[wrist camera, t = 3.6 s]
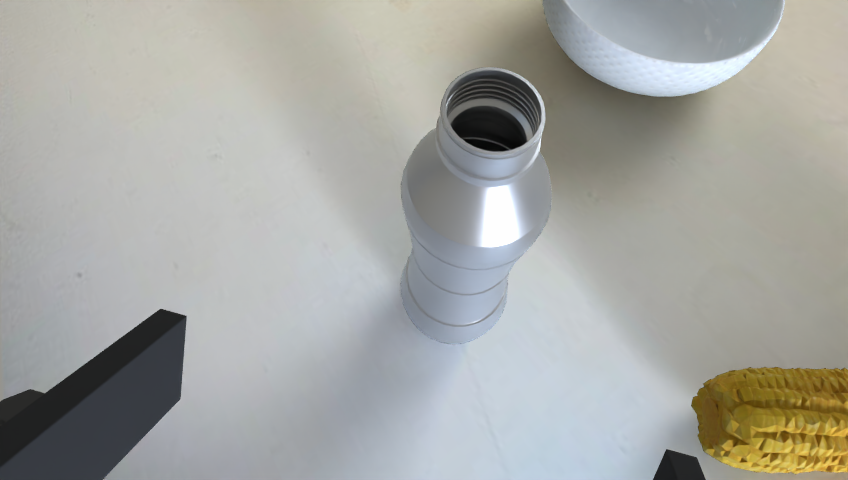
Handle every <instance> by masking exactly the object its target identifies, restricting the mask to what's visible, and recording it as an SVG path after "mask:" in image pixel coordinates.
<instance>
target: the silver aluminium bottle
mask: <svg viewBox="0 0 848 480" xmlns="http://www.w3.org/2000/svg"><path fill="white" fill-rule="evenodd" d="M545 114H546V113H545V107H544V103H543V100H542V98H541V96H540V94H539V93H538V91H537V90H536V88H535V87H534V86H533V85H532V84H531V83H530V82H529V81H527V80H526V79H525V78H523V77H522V76H520V75H518V74H516V73H514V72H512V71H509V70H506V69H502V68H495V67H483V68H477V69H473V70H470V71H467V72H465V73H463V74H462V75H460V76H458V77H457V78H456V79H455V80H454V81H452V82H451V84H450V85H449V86H448V88H447V89H446V91H445V94H444V96H443V99H442V102H441V108H440V116H439V118H438V121H437V126H436V128H435V129H433V130H432V131H430V132H429V133H428V134H427V135H426V136H425V137H424V138H423V139H421V141H420V142H419V144H418V145H417V146H416V148H415V149H414V151H413V152H412V154H411V156H410V157H409V159H408V161H407V164H406V166H405V168H404V171H403V176H402V181H401V198H402V205H403V210H404V214H405V218H406V221H407V224H408V228H409V231H410V234H411V240H412V250H411V254H410V256H409V257H408V260H407V262H406V265H405V267H404V270H403V273H402V278H401V297H402V301H403V305H404V307H405V309H406V312H407V314H408V316H409V317H410V319H411V320H412V322H413V323H414V324H415V326H416V327H417V328H418V329H419V330H420V331H421V332H422V333H423V334H425V335H426V336H428V337H430V338H431V339H434V340H436V341H439V342H442V343H448V344H461V343H466V342H470V341H472V340H474V339H476V338H478V337H480V336H482V335H483V334H485V333H486V332H487V331H489V330H490V329H491V328H492V327H493V326H494V325H495V324H496V323H497V321H498V320H499V318H500V316H501V315H502V313H503V311H504V307H505V304H506V299H507V289H508V280H507V279H508V275H509V272H510V270H511V268H512V267H513V265H514V263H515V262H516V261H517V260H518V259H519V258H520V257H521V256H522V255H523V254H524V253H525V252H526V251H527V250H528V249H529V248H530V247H531V246H532V244H533V243H534V242H535V241H536V239H537V238H538V236H539V235H540V234H541V232H542V230H543V228H544V227H545V225H546V223H547V221H548V218H549V214H550V211H551V203H552V190H551V181H550V175H549V170H548V167H547V165H546V162H545V159H544V158H543V156H542V155H541V153H540V151H539V149H540V146H541V136H542V133H543V130H544V127H545Z"/></svg>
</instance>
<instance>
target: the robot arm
mask: <svg viewBox="0 0 848 480" xmlns="http://www.w3.org/2000/svg"><path fill="white" fill-rule="evenodd" d="M186 317H187V316H185V315H181V314H178V313H174V312H170V311H167V310H163V309H160V310H158V311H157V312H156V313H154V314H153V315H151V316H150V317H149V318H147V319H146V320H145V321H143V322H142V323H141V324H139V325H138V326H136V327H135V328H134V329H132V330H131V331H130V332H128V333H127V334H126V335H124V336H123V337H121V338H120V339H119V340H117V341H116V342H115V343H113V344H112V345H111V346H109V347H108V348H106V349H105V350H104V351H102V352H101V353H100V354H98V355H97V356H96V357H94V358H93V359H91V360H90V361H89V362H87V363H86V364H85V365H83V366H82V367H80V368H79V369H78V370H76V371H75V372H74V373H72V374H71V375H70V376H68V377H67V378H65V379H64V380H63V381H61V382H60V383H59V384H57V385H56V386H55V387H53V388H52V389H50V390H49V391H48V392H46V393H41V392H38V391H34V390H31V389H29V390H27V391H24V392H22V393H19V394H17V395H14V396H11V397H9V398H6V399H4V400H2V401H1V402H0V480H102V479H103V478H104V477H105V476H106V475H107V474H108V473H109V472H110V471H111V470H112V469H113V468H114V467H115V466H116V465H117V464H118V463H119V462H120V461H121V460H122V459H123V458H124V457H125V456H126V455H127V454H128V453H129V452H130V450H131V449H132V448H133V447H134V446H135V445H136V444H137V443H138V442H139V441H140V440H141V439H142V438H143V437H144V436H145V435H146V434H147V433H148V432H149V431H150V430H151V429H152V428H153V427H154V426H155V425H156V424H157V423H158V422H159V420H160V419H161V418H162V417H163V416H164V415H165V414H166V413H167V412H168V411H169V410H170V409H171V408H172V407H173V406H174V405H175V404H176V403H177V402H178V401H179V400H180V397H181V384H182V370H183V357H184V344H185V330H186ZM653 480H706V479H705V477H704V474H703V472H702V470H701V467H700V465H699V462H698V460H697V458H696V457H693V456H689V455H685V454H682V453H678V452H675V451H671V450H667V449H666V451H665V454H664V456H663V458H662V461H661V463H660V465H659V467H658V470H657V472H656V474H655V477H654V479H653Z"/></svg>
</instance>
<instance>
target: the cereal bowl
mask: <svg viewBox="0 0 848 480" xmlns="http://www.w3.org/2000/svg"><path fill="white" fill-rule="evenodd" d="M784 3H785V0H543V7H544V14H545V16H546V21H547V24H548V25H549V29H550V31H551V32H552V34H553V37H554V38H555V39H556V41H557V43H558V44H559V46H560V47H561V48H562V50H563V51H564V52H565V53H566V54H567V55H568V57H569V58H570V59H571V60H572V61H574V63H575V64H576V65H578V66H579V67H580V68H582V69H583V70H584V71H585V72H587V73H588V74H590V75H592V76H593V77H594V78H597V79H598V80H600V81H602V82H604V83H606V84H609V85H611V86H614V87H615V88H617V89H622V90H624V91H627V92H632V93H636V94H640V95H647V96H659V97H662V96H683V95H687V94H690V93H697V92H699V91H703V90H706V89H708V88H710V87H714V86H716V85H718V84H720V83H721V82H724V81H726V80H727V79H729V78H730V77H732V76H734V75H735V74H736V73H737V72H738V71H740V70H742V69H743V68H744V67H745V66H746V65H747V64H748V63H750V62H751V61H752V59H753V58H754V57H755V56H756V55H758V53H759V52H760V50H762V49H763V48H764V47H765V45H766V44H767V42H768V41H769V40H770V39H771V38H772V36H773V34H774V32H775V31H776V30H777V28H778V25H779V23H780V20H781V18H782V15H783V11H784Z"/></svg>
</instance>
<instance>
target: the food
mask: <svg viewBox="0 0 848 480" xmlns="http://www.w3.org/2000/svg"><path fill="white" fill-rule="evenodd" d="M704 386H705V387H703V388H701V389H699V391H698V393H697V395H698V396H695V397H693V400H692V405H691V406H692V408H693V409H694V411H695V412H696V413H697V419H698V422H699V426H698V429H699V434H698V438H699V440H700V443H701V444H702V447H703V451H704V452H705V453H707V454H709V455H710V456H712V457H714V458H715V459H717V460H719V461H720V462H722V463H725V464H727V465H730V466H733V467H736V468H740V469H744V470H749V471H754V472H761V471H763V472H766V473H776V472H781V473H789V472H792V473H794V474H798V473H800V472H811V471H814V470H817V471H825V472H836V473H839V472H848V370H847V369H846V368H843V369H841V370H840V369H838V368H835V369H826V368H824V369H808V368H806V369H800V368H797V369H793V368H792V369H781V368H778V367H775V368H767V367H764V368H751V367H749V368H747V369H742V370H732V371H729V372H726V373H723V374H720V375H717V376H716V377H715V378H714V379H712V380H711V379H710V380H708V381H707V382H705V383H704Z"/></svg>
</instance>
